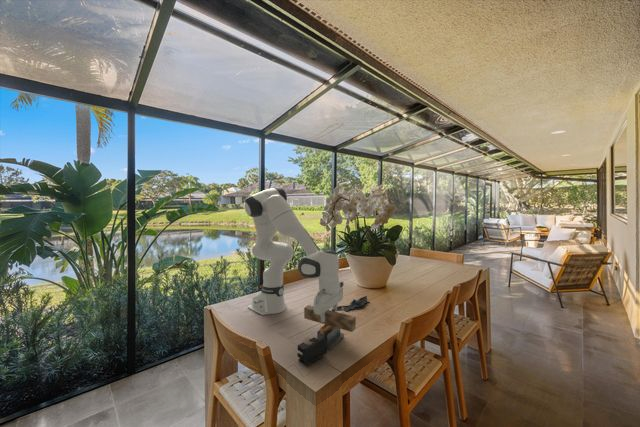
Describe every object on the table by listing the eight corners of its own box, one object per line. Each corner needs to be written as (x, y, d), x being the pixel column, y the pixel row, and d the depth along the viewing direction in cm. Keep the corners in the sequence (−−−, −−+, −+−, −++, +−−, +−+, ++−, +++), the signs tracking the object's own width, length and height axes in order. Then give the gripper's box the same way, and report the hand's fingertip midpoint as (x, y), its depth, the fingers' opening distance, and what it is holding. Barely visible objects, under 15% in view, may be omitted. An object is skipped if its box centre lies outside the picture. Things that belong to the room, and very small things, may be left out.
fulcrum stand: (313, 345, 111) (313, 327, 111) (328, 332, 122) (328, 315, 122) (329, 350, 107) (329, 332, 106) (343, 336, 118) (343, 319, 117)
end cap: (309, 369, 95) (308, 351, 95) (296, 361, 100) (296, 344, 100) (327, 358, 102) (327, 341, 102) (315, 350, 107) (315, 334, 107)
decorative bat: (344, 309, 139) (332, 304, 146) (345, 316, 139) (332, 312, 146) (378, 295, 158) (366, 292, 165) (379, 302, 158) (366, 298, 165)
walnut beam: (355, 328, 109) (355, 316, 109) (352, 332, 106) (352, 320, 106) (308, 315, 122) (308, 305, 122) (304, 318, 119) (304, 307, 119)
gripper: (322, 295, 103) (323, 328, 103) (345, 281, 120) (345, 310, 121) (309, 292, 106) (309, 325, 107) (333, 279, 123) (333, 307, 124)
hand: (328, 317), depth 114 cm, fingers open, 8 cm apart
